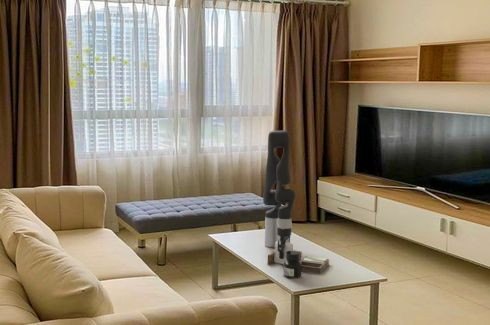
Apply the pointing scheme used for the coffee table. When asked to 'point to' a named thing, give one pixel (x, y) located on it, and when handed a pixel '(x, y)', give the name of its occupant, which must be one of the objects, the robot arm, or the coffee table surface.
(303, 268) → the two-compartment wooden organizer
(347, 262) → the coffee table surface
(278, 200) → the robot arm
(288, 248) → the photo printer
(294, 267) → the ink bottle
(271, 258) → the wooden cubby shelf
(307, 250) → the coffee table surface
